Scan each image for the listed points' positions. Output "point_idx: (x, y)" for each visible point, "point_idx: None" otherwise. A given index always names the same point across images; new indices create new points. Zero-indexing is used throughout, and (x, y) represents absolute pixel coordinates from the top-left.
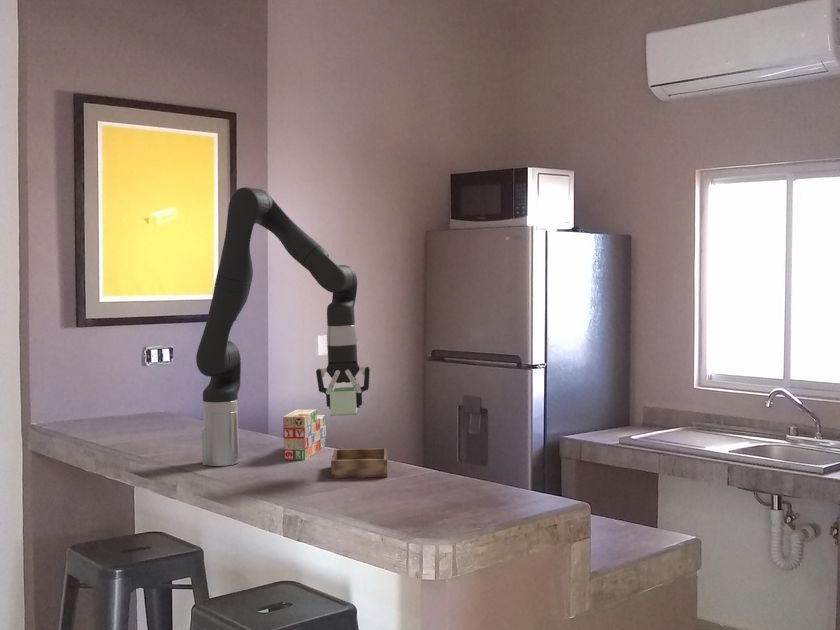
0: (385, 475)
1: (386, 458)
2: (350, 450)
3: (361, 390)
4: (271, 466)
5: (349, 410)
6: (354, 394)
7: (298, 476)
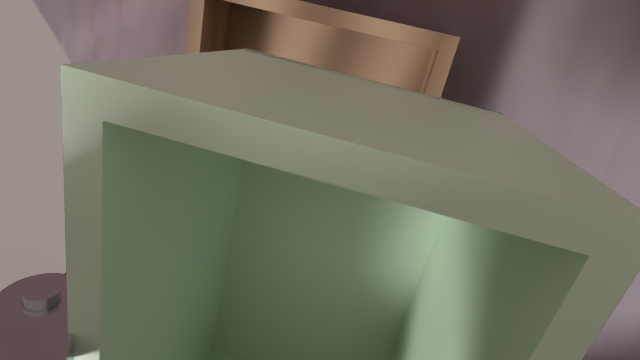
0: None
1: (192, 5)
2: None
3: (4, 291)
4: (614, 332)
5: (299, 70)
6: (126, 63)
7: (572, 126)
